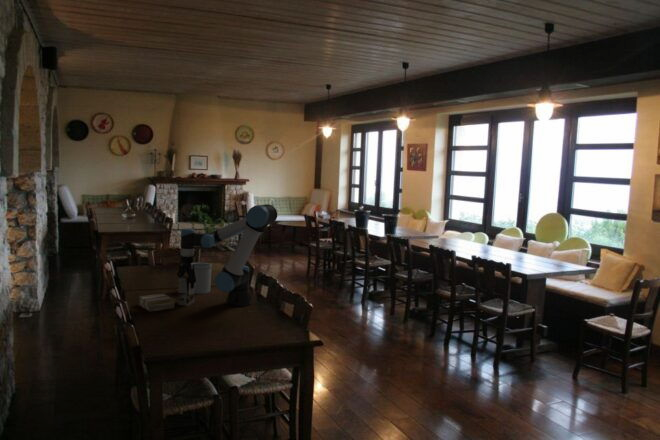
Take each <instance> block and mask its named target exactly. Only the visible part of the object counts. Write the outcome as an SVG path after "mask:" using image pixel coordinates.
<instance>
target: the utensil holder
mask: <svg viewBox="0 0 660 440" xmlns="http://www.w3.org/2000/svg"><path fill="white" fill-rule="evenodd" d="M191 265H194V271H195V277H196V282H195V295H201V294H202V295H203V294H208V293H210V292H211V287H212V286H211V283H212V281H211V280H212V267H213V265H212V263H210V262H209V263H208V262H192V263H191Z"/></svg>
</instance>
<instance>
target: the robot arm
mask: <svg viewBox="0 0 660 440" xmlns="http://www.w3.org/2000/svg"><path fill="white" fill-rule="evenodd" d="M277 219H278V211H277V209H276V207H275V206H274V205H272V204H269V203H268V204H257V205H253V206H252V207H251V208H249V209H248V211H247V213H246V216H245V217H243V218H241V219H239V220H237V221H235V222H231V223H230V224H228V225H225V226H223V227H220V228H218V229H216V230H213V231H210V232H206V233H205V232H204V233H197V232H196V231H195V229H193V228H183V229H181V233H180V234H181V235H180V249H179V252H180V262H179V267H178V271H177V274H176V276H177V277H178V278H179V277H182V276H184V275H188V278H189V281H190V282H189V294H194V283H195V282H196V277H195V271H194V265H191V263H195V262H194V261H195V258H194V255H195V247H200V248H205V249H207V248H212V247H213V246H214V245H218V244H220V243H222V242H224V241H226V240H228V239H229V240H230V239H231V238H233V237H235V236H238V235H241V238H240V239H239V241H238V243H237V245H236V247H235V249H234V251H233V253H232V255H231V257H230V260H229V262H227V263H225V264H224V266H223V267H222V269H221V271H220V272H218V273H217V274H216V276H215V277H214V284H215V287H216V288H217V289H218V290H219V291H221V293H222V292H223V293H227V295H226V298H225V305H226V306H230V307H247V306H250V305H252V298H251V297H252V296H251V294H250V291H249V290H250V289H249V288H250V272H251V271H250V267H249V266H248V265H246V263H247V262H248V260H249V257H250V256H251V253H252V251H253V249H254V247H255V245H256V243H257V242H258V240H259V238H260V236H261V234H264V233H265V232H266V230H267V228H268V226H270V225H272V224H273V223H275V222H276V220H277Z"/></svg>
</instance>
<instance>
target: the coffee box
mask: <svg viewBox="0 0 660 440" xmlns="http://www.w3.org/2000/svg"><path fill="white" fill-rule="evenodd" d="M189 282H190V281H189V278H188V274H184V276H182V277H178V282H177V283H178V288H177V289H178V290H177V292H178V293H177V305H178V306H185V307H187V306H189V305H192V304H194V303H195V299H196V298H195V295H196V294H195V283H194V294H189Z"/></svg>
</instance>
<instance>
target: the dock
mask: <svg viewBox="0 0 660 440" xmlns="http://www.w3.org/2000/svg"><path fill="white" fill-rule="evenodd" d="M175 301H176V300H175V298H173V297H170V296H169V295H168V294H167V295H166V294H165V293H157V294H149V295H141V296H140V295H139V297H138V303H139V304H138V305H139V306H140V307H141V308H143V309H145V310H147V311H149V312H156V311H157V312H158V311H164V310H171V309H175Z"/></svg>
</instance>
